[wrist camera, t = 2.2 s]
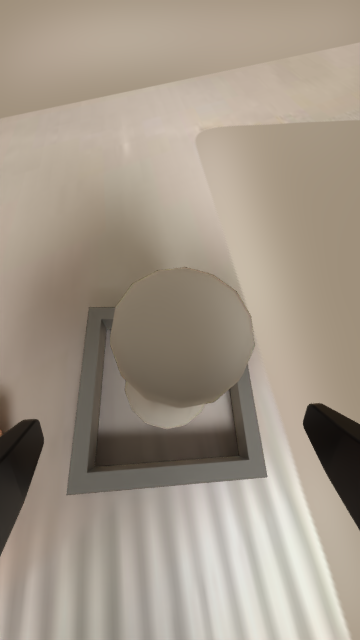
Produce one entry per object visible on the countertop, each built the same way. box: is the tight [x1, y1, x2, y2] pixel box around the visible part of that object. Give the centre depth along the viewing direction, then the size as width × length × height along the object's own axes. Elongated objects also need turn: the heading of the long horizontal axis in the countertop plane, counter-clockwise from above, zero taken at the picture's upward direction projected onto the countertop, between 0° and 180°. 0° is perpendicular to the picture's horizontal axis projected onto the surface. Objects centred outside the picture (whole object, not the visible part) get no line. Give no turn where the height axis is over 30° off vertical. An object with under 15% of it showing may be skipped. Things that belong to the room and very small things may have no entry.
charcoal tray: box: [67, 307, 267, 495], centre depth 17 cm, size 12×12×2 cm
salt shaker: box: [110, 267, 255, 429], centre depth 12 cm, size 6×6×13 cm
